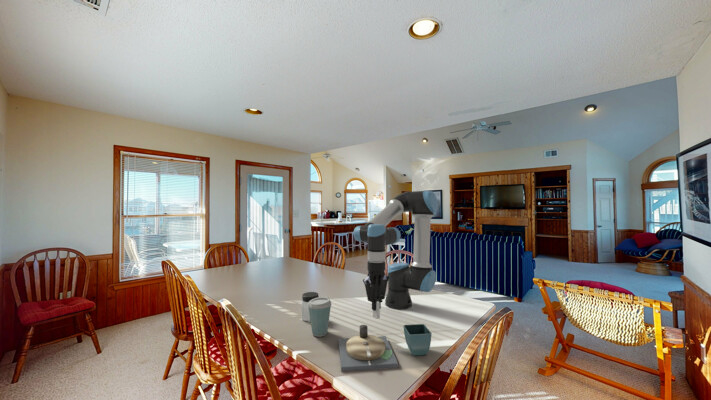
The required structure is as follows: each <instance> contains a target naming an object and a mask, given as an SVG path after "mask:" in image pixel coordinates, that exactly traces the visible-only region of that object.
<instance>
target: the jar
mask: <svg viewBox="0 0 711 400" xmlns="http://www.w3.org/2000/svg"><path fill="white" fill-rule="evenodd" d="M318 297H320V296H319V293H318V292H315V291H307V292H304V293H303V294H302V298H301V320H302V321H305V322H309V323H311V321H310V314H309V308H308V302H309V301H310V300H312V299H314V298H318Z"/></svg>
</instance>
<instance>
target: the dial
mask: <svg viewBox="0 0 711 400" xmlns="http://www.w3.org/2000/svg"><path fill="white" fill-rule="evenodd" d="M368 329H369V328H368V325H366V324H361V325H359V335H354V336H352V337H349V338H350V339H349V340H348V341H347V343H346V351H347V353H348V355H350V356H351V357H353V358H355V359H359V360H374V359H377V358H380V357H381V356H383V355H384V353H385V342H384V341H383V340H382V339H381V338H379V336H376V335H371V334H369V333H368Z"/></svg>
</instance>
